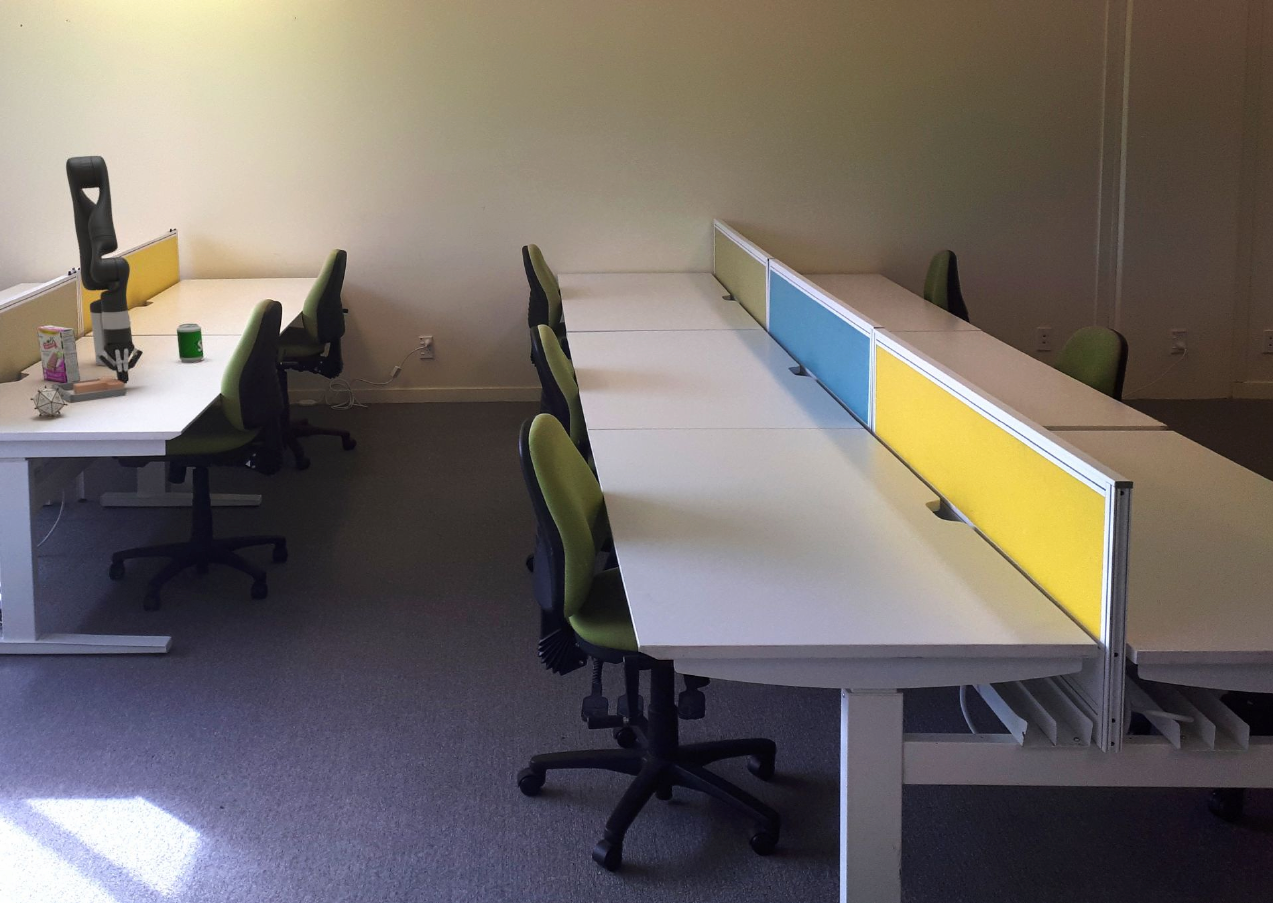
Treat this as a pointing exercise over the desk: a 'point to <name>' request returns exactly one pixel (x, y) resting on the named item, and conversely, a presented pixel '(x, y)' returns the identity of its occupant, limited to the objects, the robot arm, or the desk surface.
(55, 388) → the charcoal bay
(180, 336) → the soda can
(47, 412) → the game die
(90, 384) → the T block
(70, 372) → the candy bar box
